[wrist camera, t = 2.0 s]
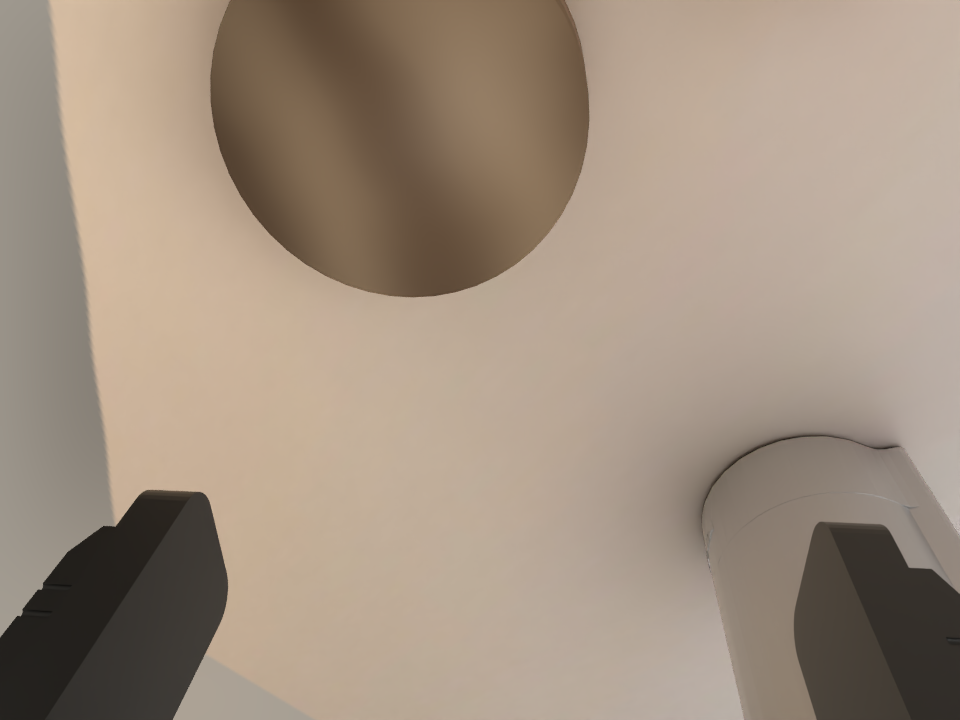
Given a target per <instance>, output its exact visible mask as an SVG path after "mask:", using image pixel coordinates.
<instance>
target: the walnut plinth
mask: <svg viewBox="0 0 960 720" xmlns="http://www.w3.org/2000/svg"><path fill="white" fill-rule="evenodd" d="M211 107H212V114H213V122H214V128H215V132H216V136H217V140H218V144H219V147H220V151H221V154H222V156H223V159H224V161H225V164H226V167H227V169H228V172H229V174H230V176H231V178H232V180H233V182H234V184H235V186H236V188H237V190H238V191H239V193H240V195H241V197H242V198H243V200H244V201H245V203H246V204H247V206H248V207H249V209H250V210H251V212H252V213H253V215H254V216H255V217H256V218H257V219H258V221H259V222H260V223H261V224H262V225H263V226H264V228H265V229H266V230H267V231H268V232H269V234H270V235H271V236H273V237H274V238H275V239H276V240H277V241H278V242H279V243H280V244H281V245H282V246H283V247H284V248H285V249H286V250H288V251H289V252H290V253H292V254H293V255H294V256H296V257H297V258H298V259H300V260H301V261H302V262H304V263H305V264H306V265H308V266H310V267H312V268H313V269H315V270H317V271H318V272H320V273H322V274H324V275H325V276H327V277H330V278H332V279H334V280H336V281H339V282H341V283H343V284H346V285H348V286H351V287H355V288H358V289H361V290H364V291H368V292H373V293H378V294H383V295H389V296H401V297H425V296H437V295H442V294H448V293H453V292H458V291H461V290H464V289H467V288H470V287H473V286H477V285H479V284H481V283H483V282H485V281H487V280H490V279H492V278H494V277H496V276H498V275H499V274H501V273H503V272H504V271H506V270H507V269H509V268H511V267H512V266H514V265H515V264H517V263H518V262H519V261H520V260H521V259H523V258H524V257H525V256H526V255H527V254H529V253H530V252H531V251H532V250H533V249H534V248H535V247H536V246H537V245H538V244H539V243H540V242H541V241H542V240H543V238H544V237H545V236H546V235H547V234H548V233H549V232H550V230H551V229H552V227H553V226H554V225H555V223H556V222H557V220H558V219H559V218H560V216H561V215H562V213H563V211H564V209H565V207H566V205H567V203H568V201H569V200H570V198H571V196H572V194H573V191H574V189H575V186H576V183H577V181H578V178H579V175H580V173H581V169H582V165H583V161H584V156H585V152H586V147H587V139H588V128H589V100H588V88H587V81H586V73H585V66H584V60H583V54H582V48H581V43H580V39H579V36H578V33H577V29H576V26H575V23H574V20H573V18H572V16H571V13H570V11H569V9H568V7H567V4H566V2H565V0H230V2H229V5H228V7H227V10H226V12H225V15H224V17H223V19H222V22H221V24H220V27H219V31H218V35H217V39H216V43H215V47H214V51H213V60H212V68H211Z"/></svg>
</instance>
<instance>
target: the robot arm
mask: <svg viewBox="0 0 960 720" xmlns="http://www.w3.org/2000/svg"><path fill="white" fill-rule="evenodd" d="M702 530H703V537H704V542H705V546H706V555H707V559H708V564H709V568H710V572H711V573H712V577H713V582H714V586H715V591H716V596H717V600H718V605H719V609H720V614H721V618H722V622H723V627H724V631H725V636H726V640H727V644H728V649H729V653H730V658H731V662H732V666H733V671H734V675H735V680H736V684H737V688H738V693H739V697H740V702H741V706H742V710H743V715H744V719H745V720H960V536H959V534H958V533H957V531H956V529H955V528H954V526H953V525H952V523H951V522H950V520H949V518H948V517H947V515H946V514H945V512H944V511H943V509H942V507H941V506H940V504H939V503H938V501H937V500H936V498H935V496H934V495H933V493H932V492H931V490H930V489H929V487H928V485H927V484H926V482H925V481H924V479H923V478H922V476H921V474H920V473H919V471H918V470H917V468H916V467H915V465H914V463H913V462H912V460H911V459H910V457H909V456H908V454H907V453H906V451H905V449H904V448H902V447H895V448H890V449H873V448H870V447H867V446H864V445H861V444H858V443H856V442H853V441H850V440H846V439H840V438H834V437H828V436H816V437H799V438H793V439H787V440H782V441H779V442H776V443H773V444H770V445H767V446H764V447H761V448H759V449H757V450H755V451H753V452H752V453H750V454H748V455H746V456H744V457H743V458H741V459H739V460H738V461H737V462H736V463H735V464H733V465H732V466H731V467H730V468H728V469H727V470H726V471H725V472H724V473H723V474H722V475H721V477H720V478H719V479H718V480H717V482H716V483H715V484H714V485H713V486H712V488H711V491H710V493H709V495H708V497H707V499H706V501H705V504H704V509H703V514H702ZM227 594H228V579H227V572H226V568H225V564H224V560H223V556H222V551H221V547H220V543H219V539H218V535H217V531H216V526H215V522H214V518H213V514H212V510H211V506H210V502H209V500H208V498H207V497H206V495H205V494H203V493H201V492H186V491H163V490H146V491H144V492H143V493H141V494H140V495H139V496H138V497H137V499H136V500H135V501H134V503H133V504H132V505H131V507H130V508H129V509H128V511H127V512H126V513H125V515H124V516H123V517H122V519H121V520H120V522H119V523H118V524H117V526H116V527H112V526H103V527H102V528H100V529H99V530H98V531H96V532H95V533H93V534H92V535H90V536H89V537H88V538H87V539H85V540H84V541H82V542H81V543H80V544H78V545H77V546H75V547H74V548H73V549H71V550H70V551H68V552H67V554H66V555H65V556H64V558H63V559H62V560H61V561H60V562H59V564H58V565H57V566H56V567H55V569H54V570H53V571H52V573H51V574H50V575H49V577H48V578H47V579H46V580H45V582H44V583H43V588H42V590H37V592H36V593H35V594H34V595H33V597H32V598H31V599H30V600H29V602H28V603H27V604H26V606H25V607H24V608H23V613H22V615H21V616H17V617H16V618H15V619H14V621H13V622H12V623H11V625H10V626H9V627H8V628H7V630H6V631H5V632H4V633H3V635H2V636H1V637H0V720H173V718H174V716H175V713H176V712H177V710H178V707H179V706H180V703H181V701H182V699H183V697H184V695H185V693H186V691H187V689H188V687H189V685H190V683H191V681H192V679H193V677H194V675H195V673H196V671H197V669H198V667H199V665H200V663H201V661H202V659H203V657H204V655H205V653H206V651H207V649H208V647H209V645H210V643H211V641H212V639H213V637H214V635H215V633H216V630H217V628H218V626H219V624H220V622H221V620H222V617H223V614H224V611H225V607H226V602H227Z"/></svg>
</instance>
